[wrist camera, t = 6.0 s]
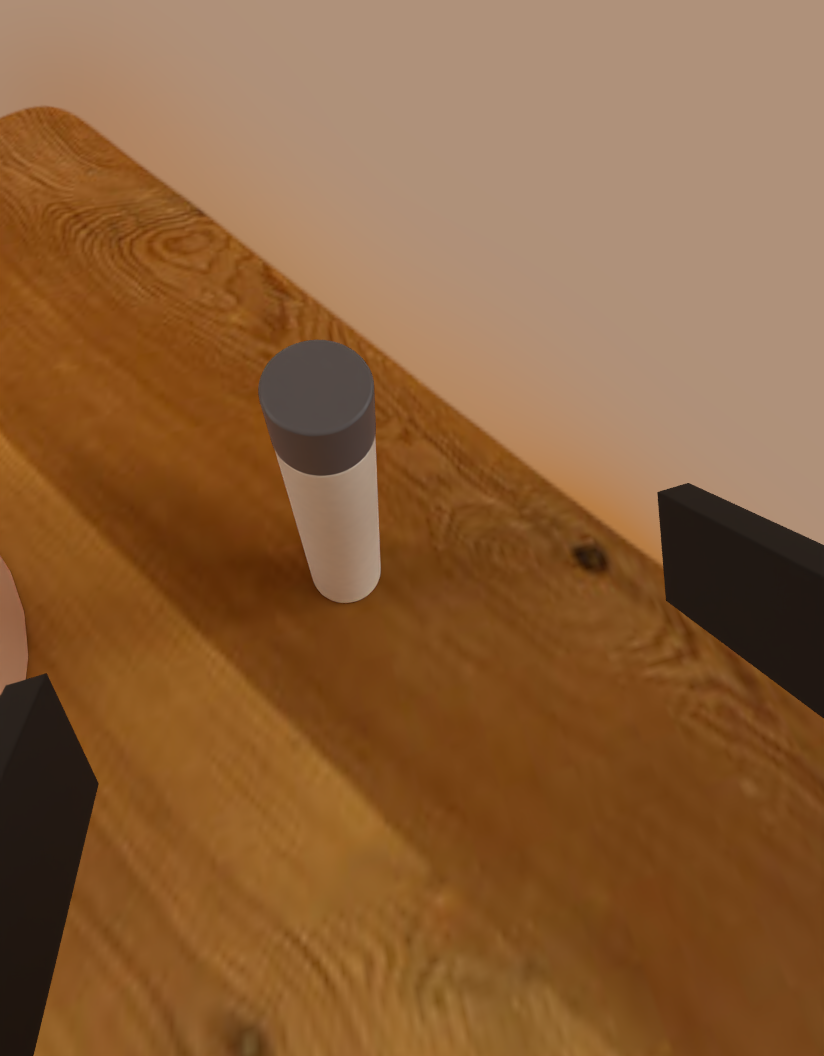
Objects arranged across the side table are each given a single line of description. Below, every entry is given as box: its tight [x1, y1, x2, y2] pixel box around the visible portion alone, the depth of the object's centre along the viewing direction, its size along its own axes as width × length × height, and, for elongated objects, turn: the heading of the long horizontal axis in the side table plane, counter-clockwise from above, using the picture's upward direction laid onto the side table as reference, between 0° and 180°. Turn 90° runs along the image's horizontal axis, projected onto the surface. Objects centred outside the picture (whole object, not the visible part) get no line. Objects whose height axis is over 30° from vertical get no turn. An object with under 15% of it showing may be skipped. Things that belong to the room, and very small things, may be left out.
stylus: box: [258, 340, 381, 603], centre depth 22 cm, size 3×3×12 cm
